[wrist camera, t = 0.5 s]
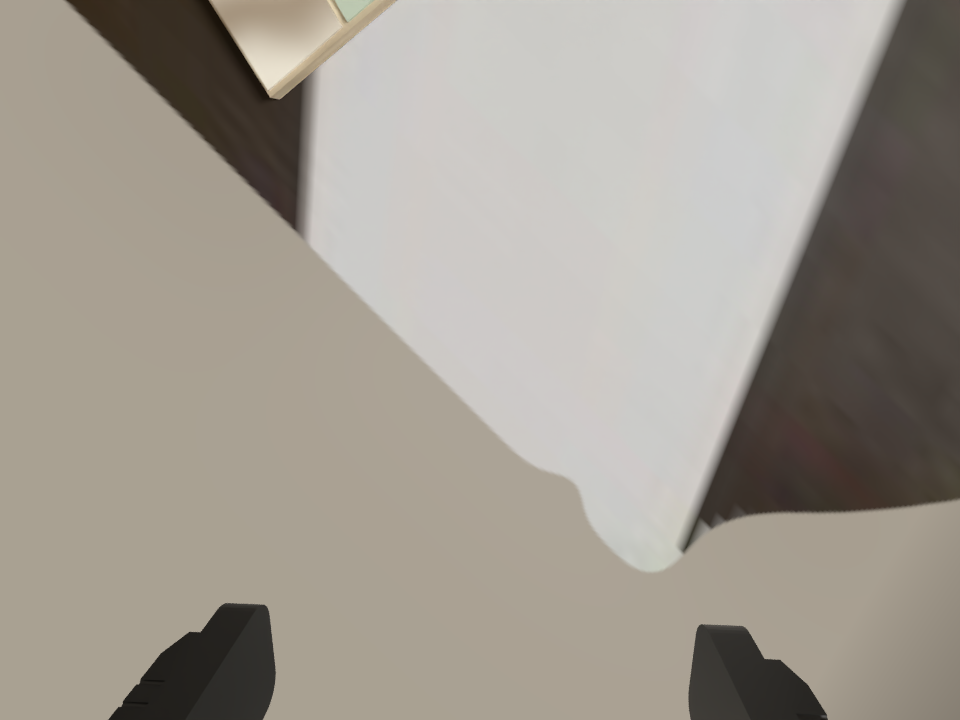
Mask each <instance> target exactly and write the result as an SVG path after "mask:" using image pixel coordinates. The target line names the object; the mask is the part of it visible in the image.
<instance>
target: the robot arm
mask: <svg viewBox="0 0 960 720" xmlns="http://www.w3.org/2000/svg"><path fill="white" fill-rule="evenodd" d="M275 674H276V672H275V662H274V652H273V643H272V634H271V625H270V616H269V611H268V608H267V607H266V606H265V605H258V604H234V603H232V604H231V603H225V604H223V605H222V606H220V607H219V609H218V610H217V611H216V612H215V614H214V615H213V616H212V618H211V619H210V620H209V622H208V623H207V625H206V626H205V627H204V629H203V630H202V631H201V632H189V633H188V634H186V635H185V636H184V637H182V638H181V639H180V640H178V641H177V642H176V643H174V644H173V645H172V646H170V647H169V648H168V649H166V650H165V651H164V652H162V653H161V654H160V655H159V657H158V658H157V659H156V660H155V662H154V663H153V664H152V666H151V667H150V668H149V669H148V671H147V672H146V673H145V674H144V676H143V677H142V678H141V681H140V684H139V685H136V686H135V687H134V688H133V689H132V691H131V692H130V693H129V694H128V696H127V697H126V698H125V700H124V701H123V705H122V707H118V708H117V710H116V711H115V712H114V713H113V715H112V716H111V717H110V718H109V720H263V718H264V716H265V714H266V712H267V709H268V707H269V705H270V702H271V699H272V695H273V691H274V685H275ZM689 711H690V717H691V720H828V719H827V714H826V713H825V711H824V710H823V708H822V707H821V705H820V704H819V702H818V700H817V699H816V697H815V695H814V694H813V692H812V691H811V689H810V688H809V686H808V685H807V684H806V683H805V682H804V681H803V680H802V679H801V678H799V677H798V676H797V675H796V674H795V673H794V672H793V671H792V670H791V669H790V668H788V667H787V666H786V665H785V664H784V663H783V662H782V661H781V660H771V659H764V658H763V656H762V654H761V652H760V650H759V649H758V647H757V645H756V643H755V642H754V640H753V638H752V637H751V635H750V634H749V632H748V630H747V629H746V628H745V627H743V626H727V625H703V624H701V625H699V627H698V628H697V632H696V639H695V646H694V654H693V662H692V669H691V677H690V685H689Z"/></svg>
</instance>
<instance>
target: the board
mask: <svg viewBox="0 0 960 720" xmlns="http://www.w3.org/2000/svg"><path fill="white" fill-rule="evenodd" d="M209 1H210V3H211V5H212V6H213V8H214V9H215V11H216V13H217V14H218V16H219V17H220V19H221V20H222V22H223V24H224V25H225V27H226V28H227V30H228V32H229V33H230V35H231V36H232V38H233V39H234V41H235V43H236V44H237V46H238V47H239V49H240V51H241V52H242V54H243V55H244V57H245V58H246V60H247V62H248V63H249V65H250V66H251V68H252V70H253V71H254V73H255V74H256V76H257V77H258V79H259V81H260V82H261V84H262V85H263V87H264V89H265V90H266V92H267V93H268V95H269V96H270V98H275V99H281V98H282V97H283V96H285V95H286V94H287V93H288V92H289V91H290V90H292V89H293V88H294V87H295V86H296V85H297V84H299V83H300V82H301V81H302V80H303V79H305V78H306V77H307V76H308V75H309V74H310V73H312V72H313V71H314V70H315V69H316V68H318V67H319V66H320V65H321V64H322V63H323V62H325V61H326V60H327V59H328V58H329V57H331V56H332V55H333V54H334V53H335V52H336V51H338V50H339V49H340V48H341V47H342V46H344V45H345V44H346V43H347V42H348V41H349V40H351V39H352V38H353V37H354V36H355V35H357V34H358V33H359V32H360V31H361V30H362V29H364V28H365V27H366V26H367V25H368V24H369V23H371V22H372V21H373V20H374V19H375V18H377V17H378V16H379V15H380V14H381V13H382V12H384V11H385V10H386V9H387V8H388V7H390V6H391V5H392V4H393V3H394V2H395V1H397V0H209Z"/></svg>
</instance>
